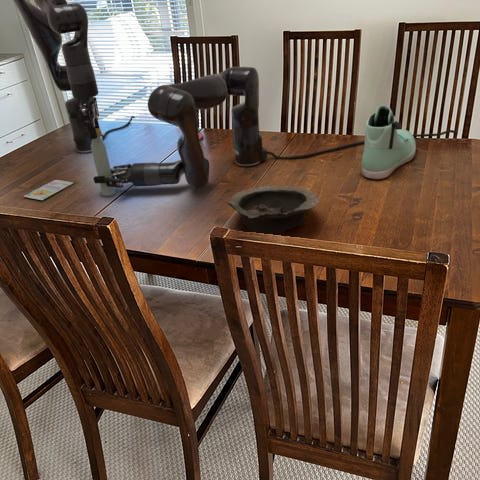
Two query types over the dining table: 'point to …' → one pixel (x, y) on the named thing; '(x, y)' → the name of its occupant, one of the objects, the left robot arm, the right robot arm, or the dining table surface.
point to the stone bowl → (273, 207)
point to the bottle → (102, 164)
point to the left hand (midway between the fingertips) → (95, 135)
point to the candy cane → (200, 136)
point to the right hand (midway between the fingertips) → (96, 176)
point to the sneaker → (385, 145)
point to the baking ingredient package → (48, 189)
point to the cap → (98, 132)
